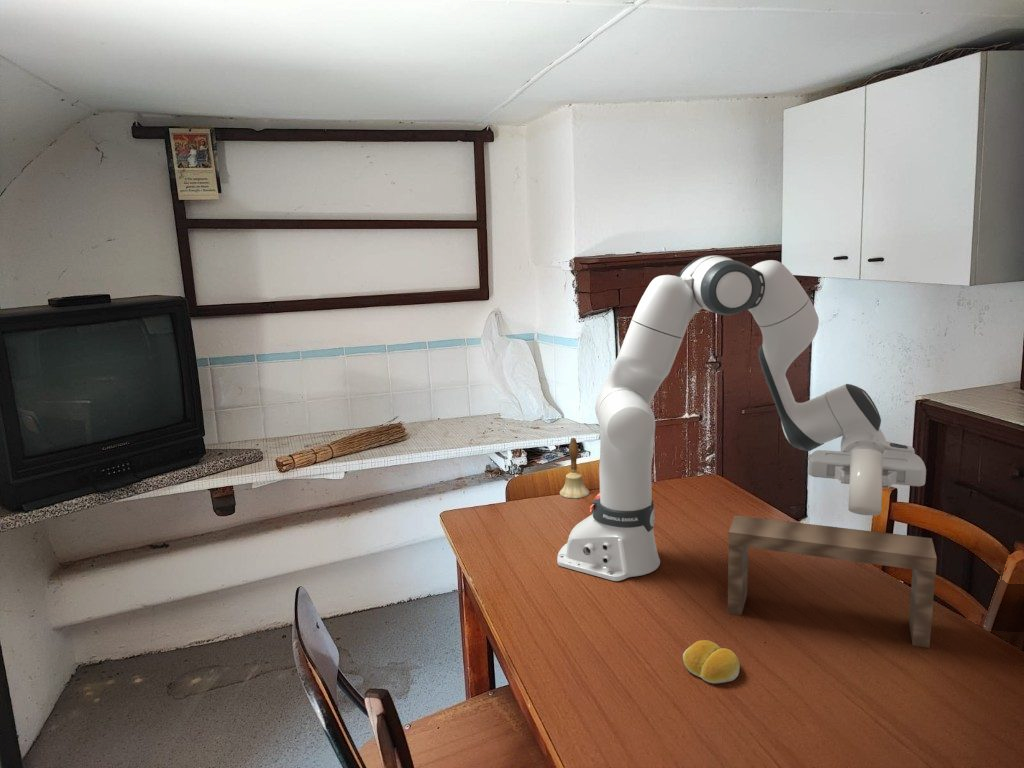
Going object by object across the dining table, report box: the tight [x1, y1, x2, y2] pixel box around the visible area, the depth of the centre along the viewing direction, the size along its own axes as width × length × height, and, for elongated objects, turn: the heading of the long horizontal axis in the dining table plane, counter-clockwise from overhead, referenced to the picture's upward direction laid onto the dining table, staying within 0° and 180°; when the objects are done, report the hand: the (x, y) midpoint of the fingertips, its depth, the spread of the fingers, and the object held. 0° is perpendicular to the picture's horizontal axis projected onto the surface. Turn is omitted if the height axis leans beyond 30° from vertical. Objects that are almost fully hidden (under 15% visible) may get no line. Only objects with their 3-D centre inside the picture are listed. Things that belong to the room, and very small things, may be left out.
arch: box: [727, 515, 938, 649], centre depth 128 cm, size 33×8×16 cm, turn 65°
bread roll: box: [682, 639, 741, 684], centre depth 117 cm, size 8×9×4 cm
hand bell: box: [559, 437, 590, 499], centre depth 195 cm, size 8×8×16 cm
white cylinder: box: [847, 449, 883, 516], centre depth 130 cm, size 5×5×11 cm
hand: (865, 481), depth 130 cm, fingers closed on white cylinder, 5 cm apart
